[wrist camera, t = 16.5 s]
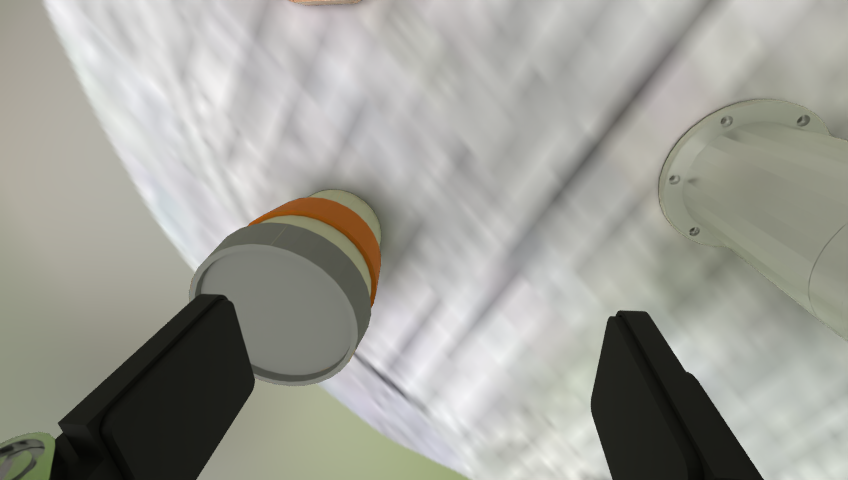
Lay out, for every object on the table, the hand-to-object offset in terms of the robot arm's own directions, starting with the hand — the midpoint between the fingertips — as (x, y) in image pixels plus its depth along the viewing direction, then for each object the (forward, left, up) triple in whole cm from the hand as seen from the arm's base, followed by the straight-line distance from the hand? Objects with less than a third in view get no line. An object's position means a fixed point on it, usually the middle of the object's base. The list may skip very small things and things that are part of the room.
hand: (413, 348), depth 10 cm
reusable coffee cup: (+12, +10, -28) cm, 32 cm away
